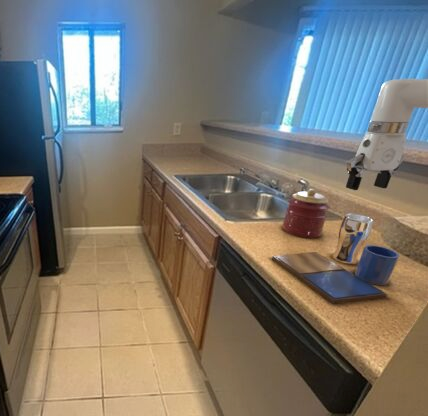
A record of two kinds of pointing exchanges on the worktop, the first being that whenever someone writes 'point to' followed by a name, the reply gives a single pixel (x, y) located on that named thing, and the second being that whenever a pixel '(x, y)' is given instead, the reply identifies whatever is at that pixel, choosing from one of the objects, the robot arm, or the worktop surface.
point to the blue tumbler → (376, 264)
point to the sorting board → (328, 278)
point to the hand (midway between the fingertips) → (365, 188)
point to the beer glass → (352, 237)
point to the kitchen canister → (306, 214)
